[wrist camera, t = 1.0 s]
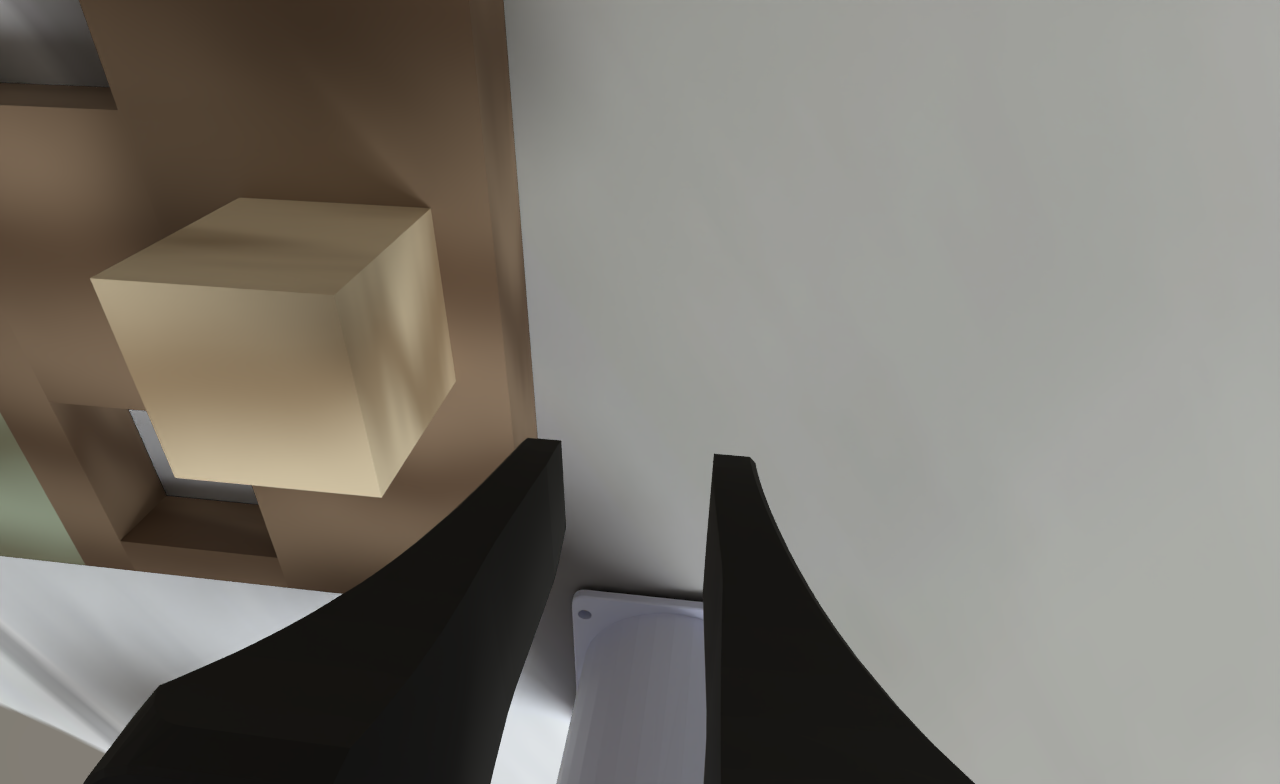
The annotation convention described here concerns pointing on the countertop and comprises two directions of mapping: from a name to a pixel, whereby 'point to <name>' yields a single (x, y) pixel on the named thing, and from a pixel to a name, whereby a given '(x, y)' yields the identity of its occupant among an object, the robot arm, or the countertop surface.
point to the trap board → (209, 179)
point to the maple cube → (287, 342)
